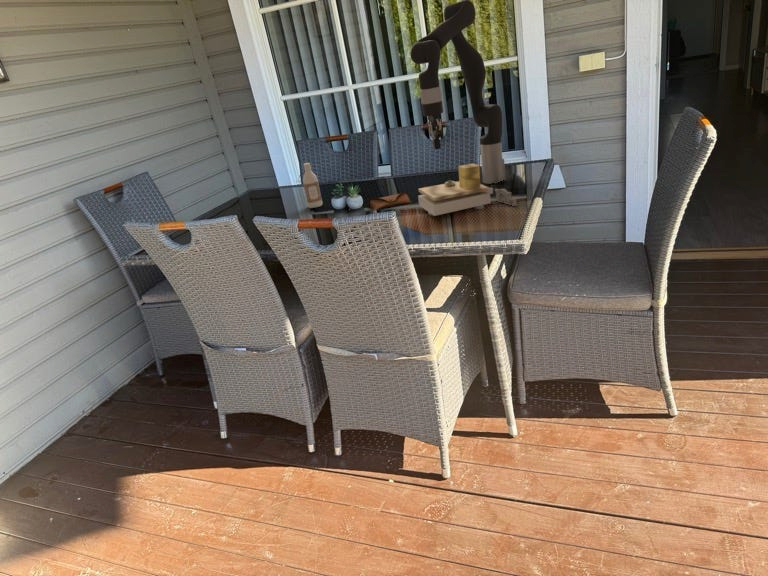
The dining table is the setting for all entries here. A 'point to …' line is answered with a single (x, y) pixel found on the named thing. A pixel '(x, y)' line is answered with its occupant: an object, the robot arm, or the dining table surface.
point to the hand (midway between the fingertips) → (437, 148)
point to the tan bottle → (311, 187)
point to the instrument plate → (457, 184)
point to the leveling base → (455, 202)
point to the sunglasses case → (389, 201)
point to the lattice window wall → (505, 197)
